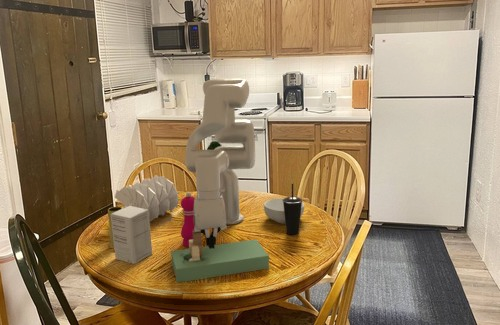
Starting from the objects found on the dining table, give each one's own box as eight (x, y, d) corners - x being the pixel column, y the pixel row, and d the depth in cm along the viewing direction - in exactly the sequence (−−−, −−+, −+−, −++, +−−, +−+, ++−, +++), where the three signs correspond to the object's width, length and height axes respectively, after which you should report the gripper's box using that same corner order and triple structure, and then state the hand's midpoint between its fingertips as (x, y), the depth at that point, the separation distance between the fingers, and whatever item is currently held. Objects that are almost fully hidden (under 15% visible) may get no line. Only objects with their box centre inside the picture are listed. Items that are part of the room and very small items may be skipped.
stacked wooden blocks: (189, 250, 156) (188, 228, 154) (199, 249, 157) (198, 227, 155) (193, 261, 148) (192, 237, 146) (204, 259, 149) (202, 236, 147)
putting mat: (171, 263, 158) (170, 251, 157) (256, 251, 166) (256, 239, 165) (177, 282, 145) (176, 269, 144) (269, 268, 153) (268, 255, 152)
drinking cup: (301, 237, 177) (301, 187, 172) (281, 236, 178) (281, 186, 174) (303, 230, 184) (303, 181, 179) (284, 229, 186) (283, 180, 181)
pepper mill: (204, 241, 176) (201, 190, 171) (196, 249, 169) (193, 196, 165) (187, 239, 178) (184, 188, 174) (178, 246, 172) (174, 194, 167)
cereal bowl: (310, 224, 190) (310, 207, 189) (272, 229, 186) (271, 212, 184) (294, 211, 206) (294, 195, 204) (258, 215, 202) (258, 200, 200)
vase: (111, 249, 170) (108, 212, 167) (108, 244, 176) (104, 207, 172) (128, 246, 173) (125, 209, 170) (124, 240, 178) (121, 205, 175)
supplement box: (133, 248, 171) (130, 205, 167) (153, 253, 166) (149, 208, 162) (114, 259, 163) (109, 213, 159) (133, 264, 158) (129, 217, 154)
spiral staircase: (176, 219, 210) (137, 236, 189) (149, 198, 217) (108, 212, 195) (190, 186, 203) (151, 200, 182) (161, 165, 210) (120, 176, 188)
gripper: (228, 188, 155) (230, 239, 159) (183, 192, 151) (186, 245, 155) (234, 194, 148) (236, 248, 152) (187, 199, 144) (190, 255, 148)
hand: (211, 247), depth 153 cm, fingers closed
